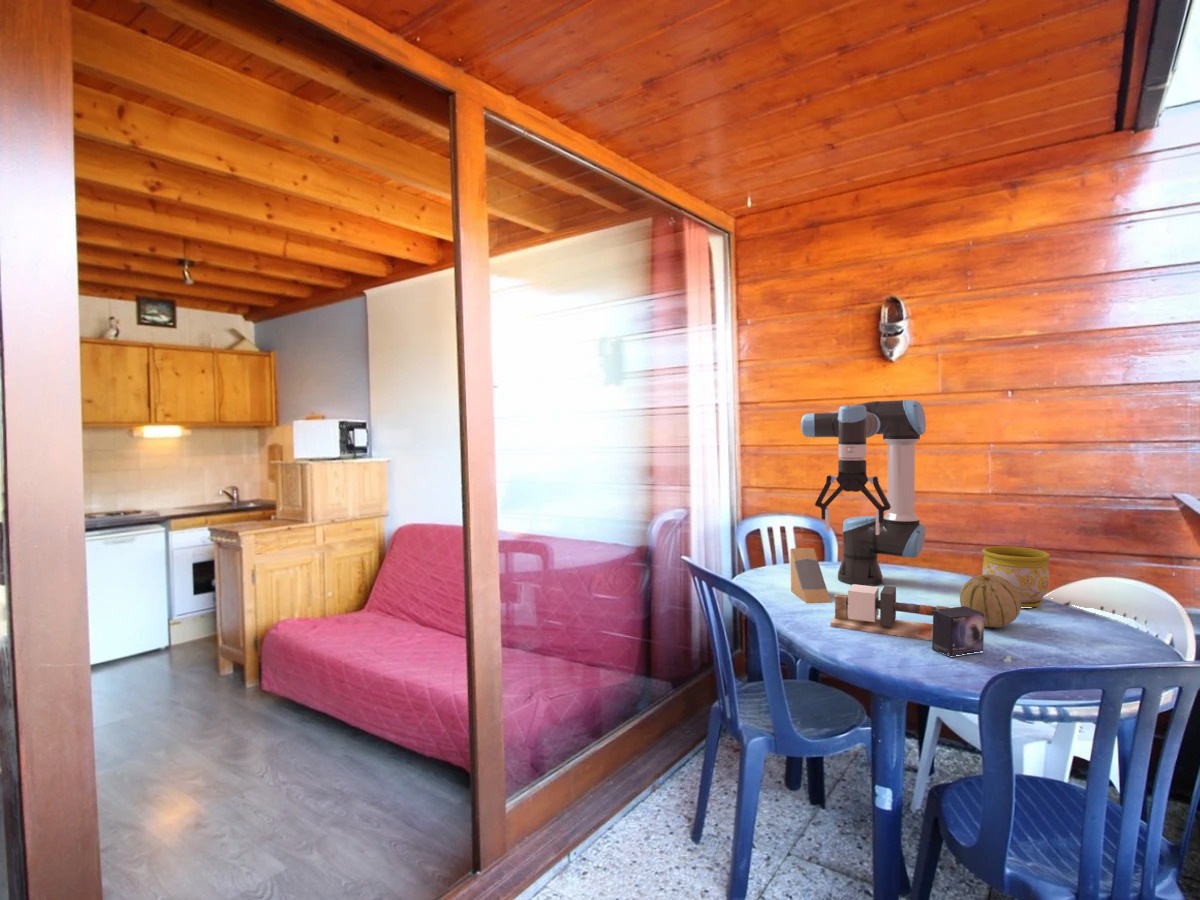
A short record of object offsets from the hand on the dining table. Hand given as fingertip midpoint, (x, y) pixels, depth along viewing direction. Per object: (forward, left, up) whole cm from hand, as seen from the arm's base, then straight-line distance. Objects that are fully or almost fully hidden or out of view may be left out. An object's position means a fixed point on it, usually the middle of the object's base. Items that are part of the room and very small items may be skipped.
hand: (852, 532), depth 186 cm
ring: (+1, +10, -24) cm, 26 cm away
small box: (+12, +27, -27) cm, 40 cm away
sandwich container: (-22, -17, -27) cm, 38 cm away
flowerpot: (-43, +41, -27) cm, 65 cm away
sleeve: (+1, +3, -24) cm, 24 cm away
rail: (+1, +10, -26) cm, 28 cm away
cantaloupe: (-14, +34, -27) cm, 45 cm away
